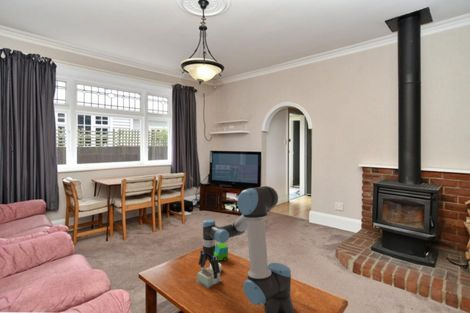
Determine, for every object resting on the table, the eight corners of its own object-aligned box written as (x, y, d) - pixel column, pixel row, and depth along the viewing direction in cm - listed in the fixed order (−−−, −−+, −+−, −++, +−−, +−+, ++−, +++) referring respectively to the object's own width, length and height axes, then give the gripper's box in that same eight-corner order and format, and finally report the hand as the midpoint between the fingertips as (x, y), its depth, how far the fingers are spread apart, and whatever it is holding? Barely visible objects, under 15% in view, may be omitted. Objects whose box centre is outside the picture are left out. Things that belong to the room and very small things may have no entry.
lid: (220, 280, 156) (220, 272, 156) (208, 287, 149) (208, 278, 149) (209, 274, 163) (209, 266, 163) (197, 280, 156) (197, 272, 156)
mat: (222, 280, 157) (222, 280, 157) (207, 288, 148) (207, 288, 148) (209, 273, 165) (209, 273, 165) (195, 281, 156) (195, 280, 156)
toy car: (206, 258, 186) (206, 245, 186) (223, 255, 192) (223, 242, 191) (211, 264, 177) (211, 250, 177) (228, 261, 183) (228, 247, 182)
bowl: (223, 270, 169) (223, 265, 168) (215, 275, 163) (215, 269, 163) (215, 266, 174) (215, 261, 173) (207, 270, 168) (207, 265, 168)
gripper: (226, 248, 150) (225, 284, 151) (202, 238, 165) (201, 271, 167) (217, 252, 144) (216, 289, 146) (192, 241, 160) (192, 275, 161)
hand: (208, 279), depth 156 cm, fingers closed on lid, 10 cm apart
